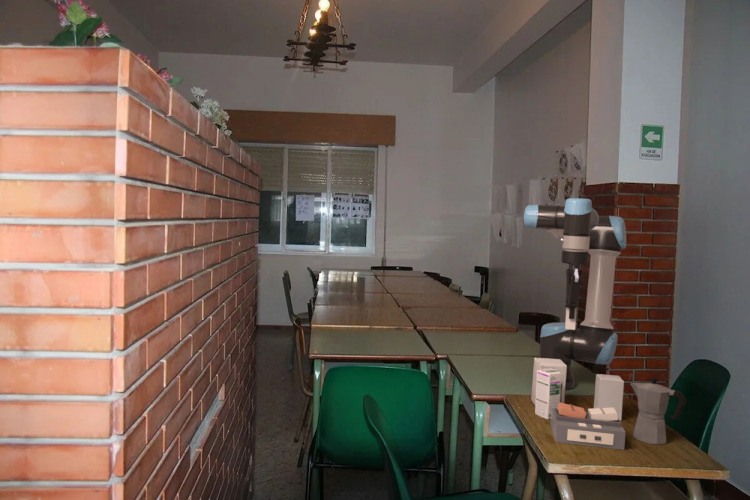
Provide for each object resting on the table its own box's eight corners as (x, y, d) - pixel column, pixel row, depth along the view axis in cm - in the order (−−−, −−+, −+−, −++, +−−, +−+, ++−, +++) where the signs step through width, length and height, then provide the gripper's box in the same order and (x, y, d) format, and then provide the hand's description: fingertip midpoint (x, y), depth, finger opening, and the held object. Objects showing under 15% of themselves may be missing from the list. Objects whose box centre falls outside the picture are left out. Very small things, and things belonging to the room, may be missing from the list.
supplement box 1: (536, 408, 189) (539, 363, 188) (530, 400, 198) (533, 357, 197) (564, 410, 188) (567, 365, 187) (557, 401, 197) (560, 358, 196)
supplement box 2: (621, 421, 180) (624, 381, 180) (596, 418, 182) (599, 379, 181) (616, 413, 188) (619, 375, 187) (592, 411, 189) (595, 373, 188)
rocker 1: (557, 408, 170) (558, 401, 169) (581, 414, 168) (583, 407, 168) (559, 414, 165) (561, 406, 164) (584, 420, 163) (586, 412, 163)
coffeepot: (619, 435, 168) (624, 374, 167) (633, 428, 175) (637, 369, 174) (675, 452, 157) (681, 387, 156) (688, 444, 164) (693, 382, 162)
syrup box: (547, 420, 179) (550, 373, 178) (534, 413, 184) (536, 368, 183) (561, 417, 181) (564, 372, 180) (547, 411, 186) (550, 367, 185)
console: (550, 424, 175) (551, 404, 174) (613, 431, 171) (614, 410, 171) (555, 442, 161) (557, 420, 160) (624, 450, 157) (626, 428, 157)
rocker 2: (588, 415, 168) (587, 407, 168) (613, 414, 167) (613, 406, 167) (591, 421, 163) (590, 413, 163) (617, 420, 162) (617, 412, 162)
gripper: (559, 248, 179) (554, 324, 180) (565, 250, 166) (559, 332, 167) (584, 250, 177) (579, 326, 179) (592, 252, 164) (586, 334, 166)
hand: (570, 328), depth 173 cm, fingers closed
